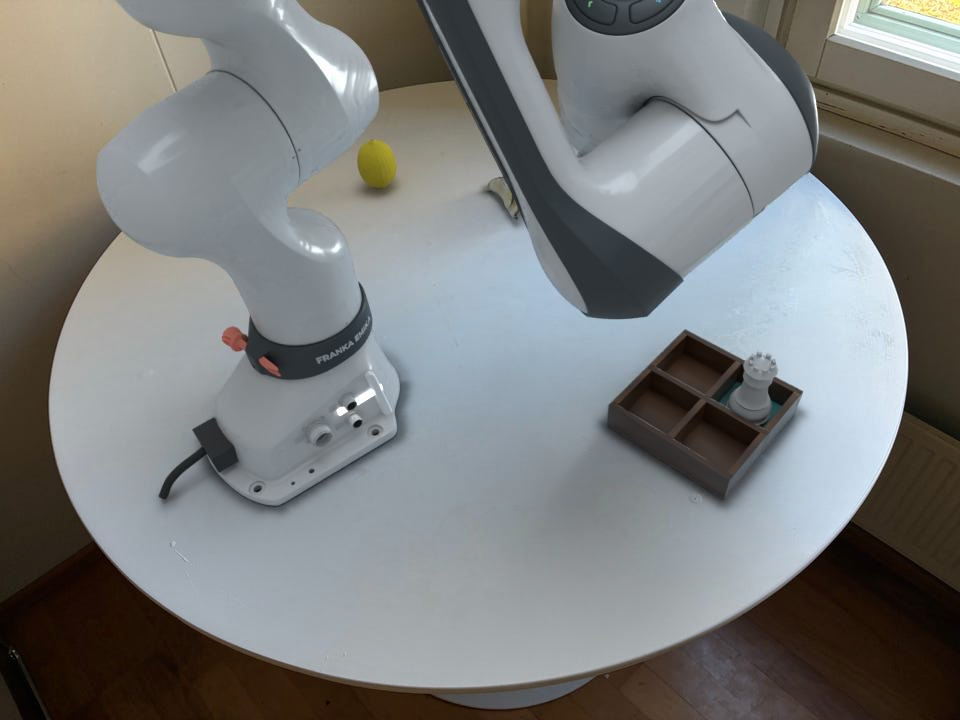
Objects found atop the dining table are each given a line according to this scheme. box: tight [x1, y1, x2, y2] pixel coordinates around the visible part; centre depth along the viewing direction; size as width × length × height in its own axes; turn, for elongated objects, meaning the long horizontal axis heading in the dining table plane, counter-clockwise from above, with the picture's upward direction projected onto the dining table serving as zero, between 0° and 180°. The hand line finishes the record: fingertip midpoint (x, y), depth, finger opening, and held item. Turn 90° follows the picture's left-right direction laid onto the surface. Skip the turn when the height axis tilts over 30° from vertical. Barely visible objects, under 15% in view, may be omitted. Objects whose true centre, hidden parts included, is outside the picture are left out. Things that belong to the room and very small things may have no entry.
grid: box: [606, 328, 804, 501], centre depth 80 cm, size 14×14×4 cm
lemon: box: [356, 139, 397, 189], centre depth 111 cm, size 6×6×8 cm
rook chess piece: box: [726, 351, 779, 425], centre depth 77 cm, size 4×4×8 cm
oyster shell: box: [486, 176, 520, 221], centre depth 107 cm, size 6×4×10 cm
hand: (615, 164), depth 70 cm, fingers open, 8 cm apart
